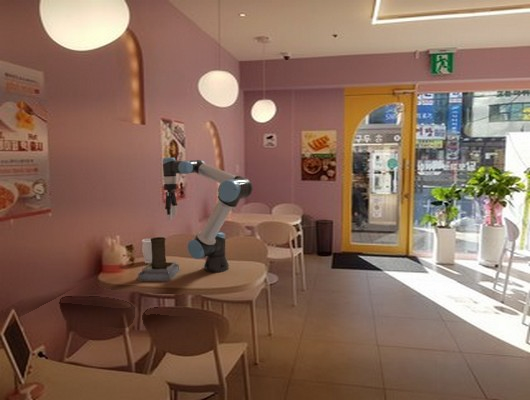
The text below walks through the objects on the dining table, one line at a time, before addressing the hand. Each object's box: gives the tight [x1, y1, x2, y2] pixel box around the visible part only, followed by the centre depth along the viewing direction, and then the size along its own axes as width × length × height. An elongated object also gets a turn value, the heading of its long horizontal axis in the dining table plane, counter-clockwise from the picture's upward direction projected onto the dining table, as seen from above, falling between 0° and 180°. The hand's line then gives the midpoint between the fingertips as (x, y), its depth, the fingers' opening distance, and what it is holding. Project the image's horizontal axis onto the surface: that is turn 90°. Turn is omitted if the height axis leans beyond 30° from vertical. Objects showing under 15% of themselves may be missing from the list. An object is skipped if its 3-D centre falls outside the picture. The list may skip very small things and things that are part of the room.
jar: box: [141, 237, 153, 264], centre depth 269 cm, size 11×10×15 cm
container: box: [151, 236, 167, 269], centre depth 239 cm, size 9×9×18 cm
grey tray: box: [137, 261, 180, 282], centre depth 240 cm, size 18×20×6 cm
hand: (171, 218), depth 250 cm, fingers open, 13 cm apart
